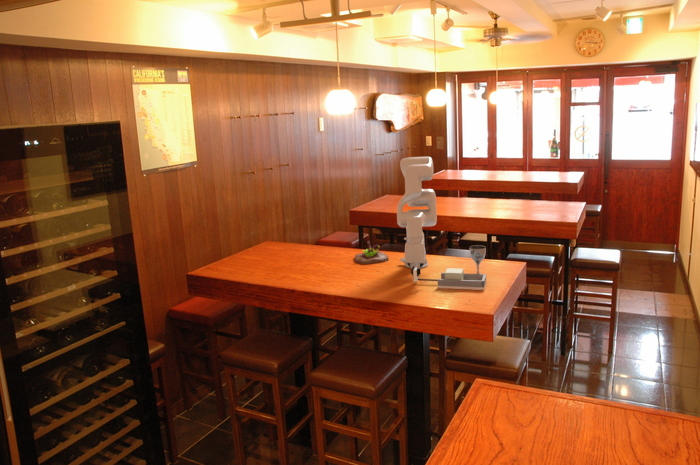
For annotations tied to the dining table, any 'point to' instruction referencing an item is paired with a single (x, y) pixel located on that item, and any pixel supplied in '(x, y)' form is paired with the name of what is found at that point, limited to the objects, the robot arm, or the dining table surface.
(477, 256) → the wine glass
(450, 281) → the lane tray
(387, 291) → the dining table surface
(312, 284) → the dining table surface
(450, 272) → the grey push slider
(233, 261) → the dining table surface
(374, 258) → the plant
